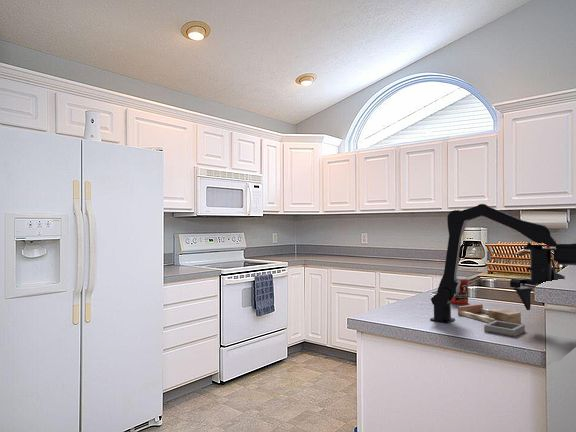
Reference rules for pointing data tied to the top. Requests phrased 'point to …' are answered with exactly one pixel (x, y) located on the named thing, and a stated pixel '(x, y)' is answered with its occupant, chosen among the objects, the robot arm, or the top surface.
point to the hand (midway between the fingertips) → (541, 313)
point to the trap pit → (504, 328)
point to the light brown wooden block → (505, 315)
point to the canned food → (461, 292)
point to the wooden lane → (471, 309)
